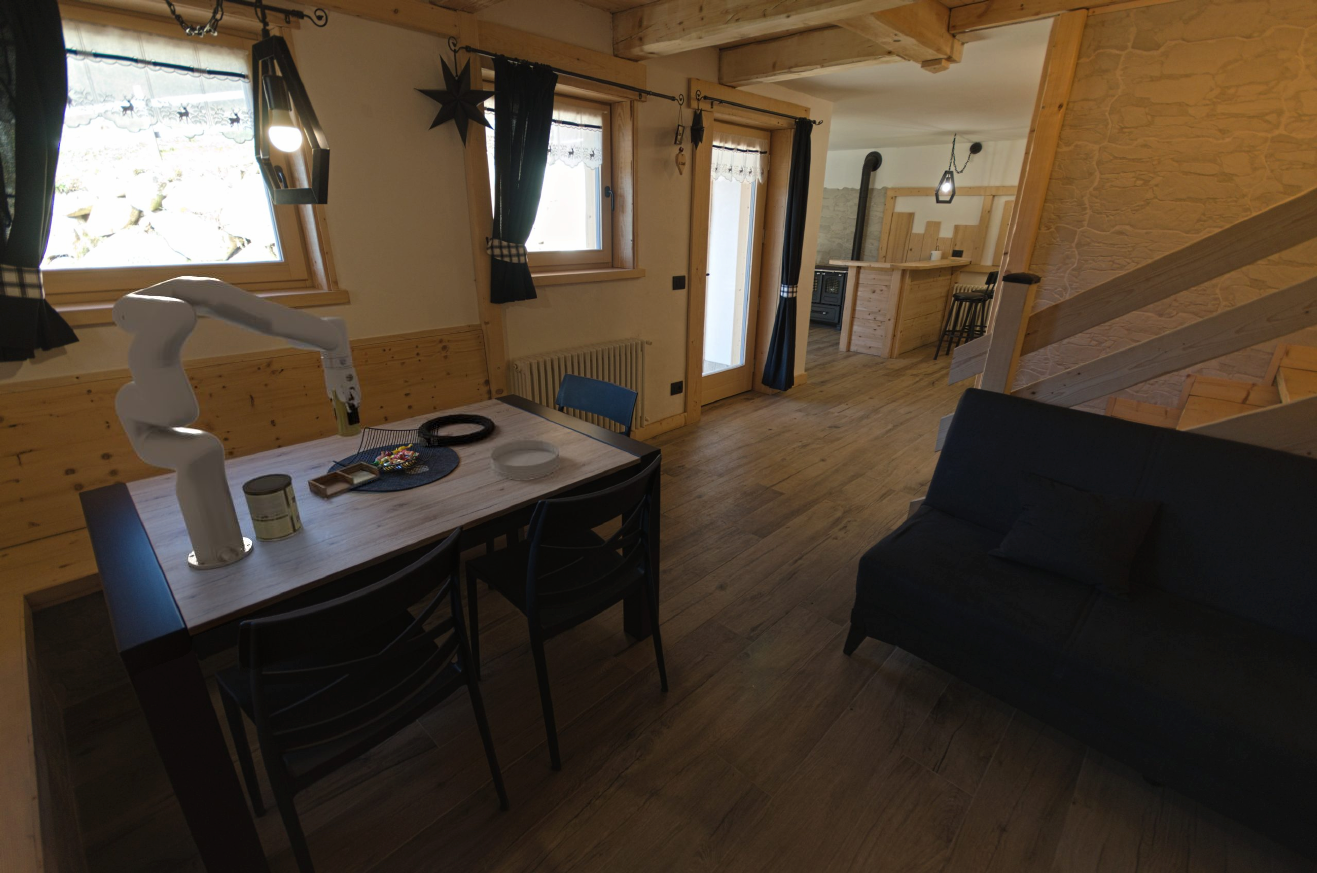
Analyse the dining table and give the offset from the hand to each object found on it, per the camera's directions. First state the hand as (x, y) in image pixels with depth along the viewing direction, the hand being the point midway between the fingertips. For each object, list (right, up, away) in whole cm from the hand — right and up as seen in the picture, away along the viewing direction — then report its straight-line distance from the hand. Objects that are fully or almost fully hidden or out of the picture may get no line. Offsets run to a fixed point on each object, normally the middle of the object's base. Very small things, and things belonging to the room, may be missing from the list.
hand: (348, 421), depth 170 cm
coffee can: (-6, -29, -22) cm, 37 cm away
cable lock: (+15, -4, +45) cm, 48 cm away
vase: (0, -4, +1) cm, 4 cm away
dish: (+48, -14, +20) cm, 54 cm away
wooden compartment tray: (-3, -19, +4) cm, 20 cm away
